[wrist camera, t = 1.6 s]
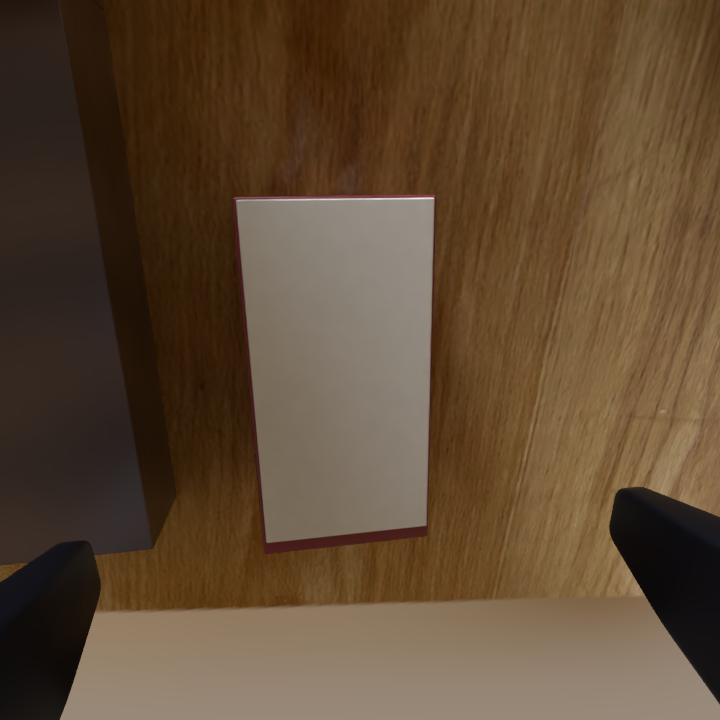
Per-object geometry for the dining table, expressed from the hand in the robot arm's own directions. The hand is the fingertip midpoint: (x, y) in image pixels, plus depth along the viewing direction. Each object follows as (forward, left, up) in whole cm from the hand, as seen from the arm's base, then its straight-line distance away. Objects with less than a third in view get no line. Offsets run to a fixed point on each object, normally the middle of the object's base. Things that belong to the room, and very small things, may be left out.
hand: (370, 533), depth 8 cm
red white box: (0, 0, -12) cm, 12 cm away
